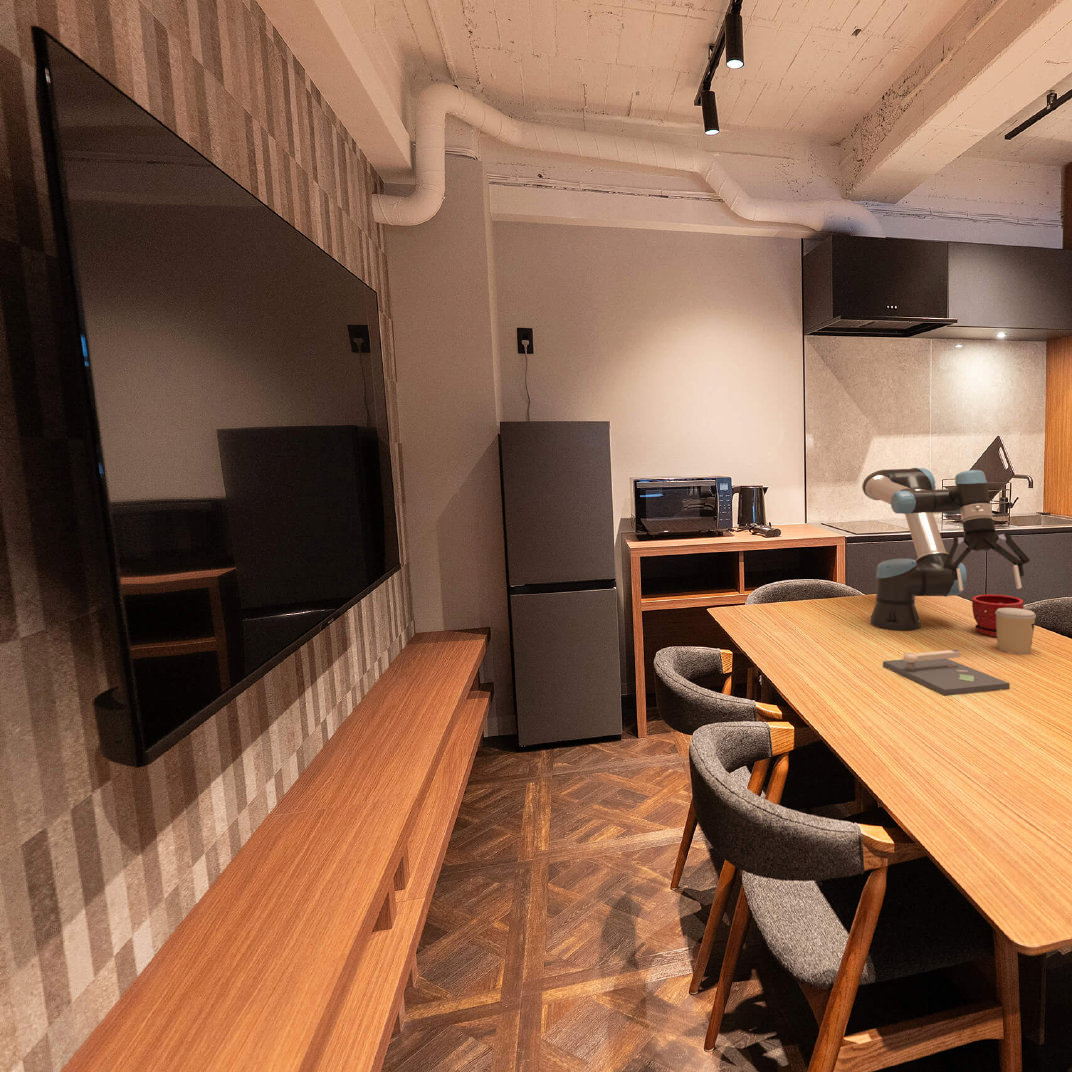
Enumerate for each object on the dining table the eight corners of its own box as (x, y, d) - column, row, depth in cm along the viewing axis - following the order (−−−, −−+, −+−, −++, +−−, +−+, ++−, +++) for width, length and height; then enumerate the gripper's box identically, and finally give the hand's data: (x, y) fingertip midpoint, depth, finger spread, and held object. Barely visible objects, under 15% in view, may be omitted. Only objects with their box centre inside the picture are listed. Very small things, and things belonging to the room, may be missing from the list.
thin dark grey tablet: (882, 666, 166) (883, 653, 165) (939, 660, 168) (940, 648, 167) (944, 695, 144) (945, 680, 144) (1009, 688, 146) (1010, 674, 145)
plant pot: (974, 626, 198) (976, 592, 197) (1024, 632, 189) (1026, 596, 188) (967, 635, 189) (968, 599, 188) (1019, 642, 180) (1021, 605, 179)
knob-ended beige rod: (909, 663, 156) (909, 657, 156) (900, 659, 159) (900, 653, 159) (962, 658, 158) (963, 652, 157) (953, 654, 161) (953, 648, 160)
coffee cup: (1041, 655, 168) (1043, 615, 166) (1005, 654, 170) (1006, 615, 168) (1021, 645, 177) (1023, 607, 176) (987, 644, 179) (988, 607, 177)
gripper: (928, 521, 176) (939, 589, 171) (1033, 511, 164) (1048, 584, 159) (927, 527, 183) (937, 593, 177) (1027, 518, 170) (1041, 589, 165)
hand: (989, 589), depth 168 cm, fingers open, 13 cm apart
